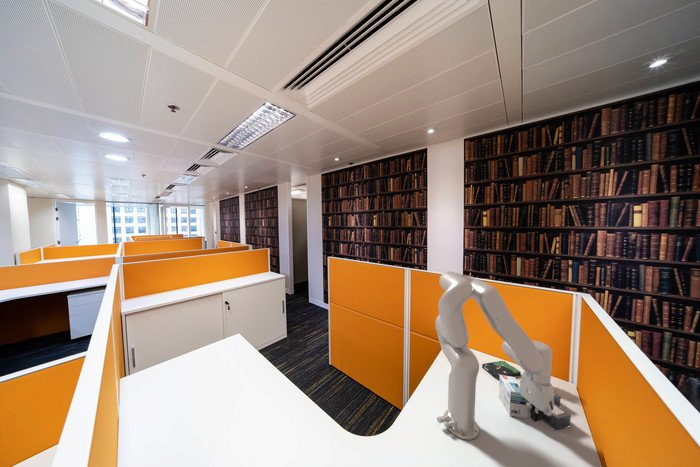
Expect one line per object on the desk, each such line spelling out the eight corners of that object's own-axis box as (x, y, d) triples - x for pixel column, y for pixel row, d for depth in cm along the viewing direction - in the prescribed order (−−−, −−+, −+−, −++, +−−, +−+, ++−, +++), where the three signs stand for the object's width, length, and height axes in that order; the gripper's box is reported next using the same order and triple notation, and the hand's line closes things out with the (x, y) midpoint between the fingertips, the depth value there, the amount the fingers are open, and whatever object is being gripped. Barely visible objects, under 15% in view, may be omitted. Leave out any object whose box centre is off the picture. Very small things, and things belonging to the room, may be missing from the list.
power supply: (547, 410, 97) (547, 398, 96) (528, 396, 105) (529, 385, 104) (559, 407, 99) (560, 395, 98) (540, 393, 106) (541, 382, 106)
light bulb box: (527, 419, 93) (528, 394, 92) (509, 416, 94) (510, 391, 93) (514, 399, 103) (515, 376, 102) (497, 396, 104) (498, 374, 104)
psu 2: (556, 431, 87) (556, 418, 87) (534, 413, 95) (535, 402, 95) (569, 426, 89) (570, 414, 89) (547, 410, 97) (548, 398, 97)
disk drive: (497, 381, 115) (521, 376, 118) (497, 376, 115) (521, 371, 118) (481, 368, 125) (503, 364, 128) (481, 363, 125) (503, 359, 128)
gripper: (512, 364, 94) (509, 406, 95) (551, 390, 80) (548, 439, 81) (526, 361, 96) (524, 402, 97) (567, 387, 81) (564, 435, 83)
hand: (535, 419), depth 89 cm, fingers closed
